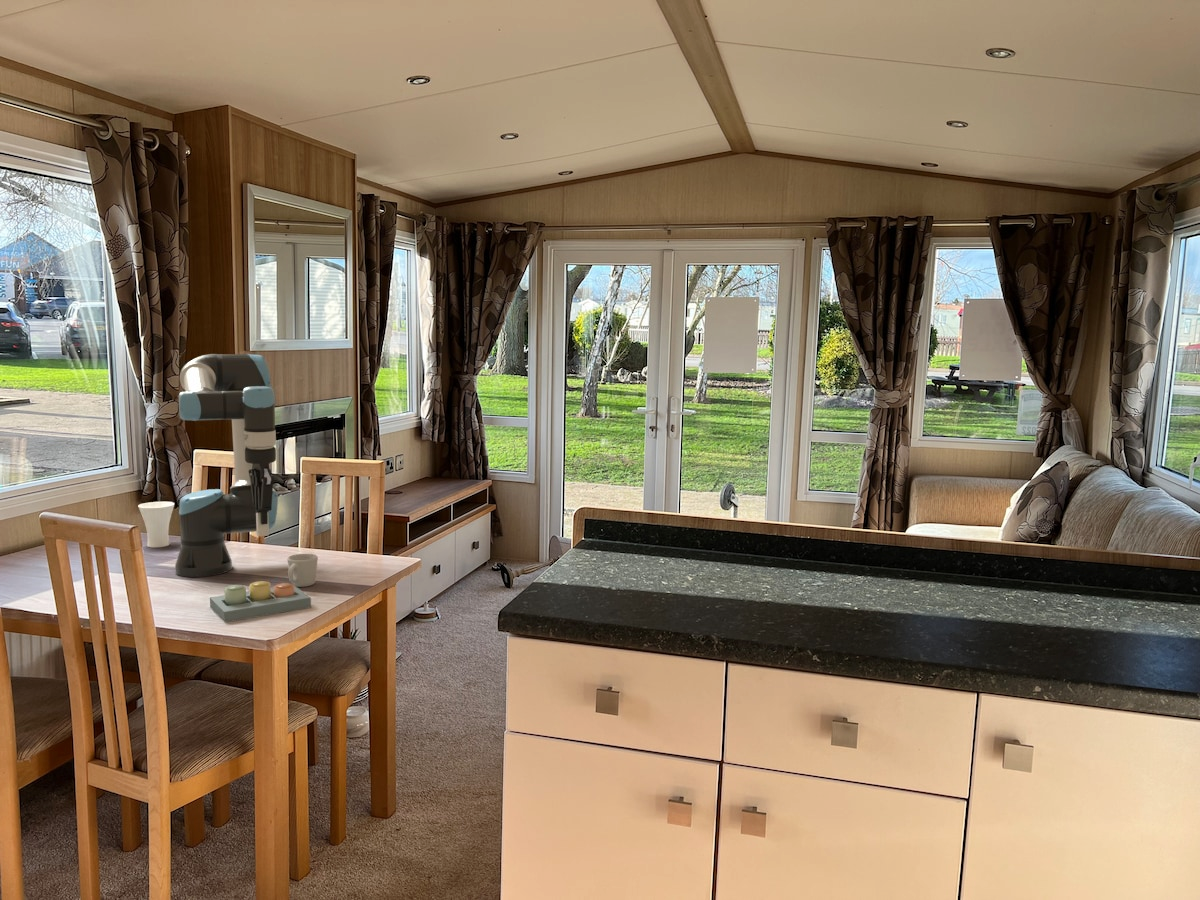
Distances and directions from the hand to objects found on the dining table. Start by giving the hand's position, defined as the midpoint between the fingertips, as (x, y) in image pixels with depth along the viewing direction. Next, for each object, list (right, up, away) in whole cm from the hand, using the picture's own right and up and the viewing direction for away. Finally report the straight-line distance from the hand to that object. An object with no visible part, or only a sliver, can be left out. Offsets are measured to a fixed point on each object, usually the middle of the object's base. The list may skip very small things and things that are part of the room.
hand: (262, 535), depth 229 cm
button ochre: (+2, -16, -6) cm, 17 cm away
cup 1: (-55, -9, +55) cm, 79 cm away
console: (+2, -18, -5) cm, 19 cm away
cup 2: (+5, -16, +14) cm, 21 cm away
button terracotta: (+6, -17, -2) cm, 18 cm away
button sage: (-3, -16, -9) cm, 19 cm away
